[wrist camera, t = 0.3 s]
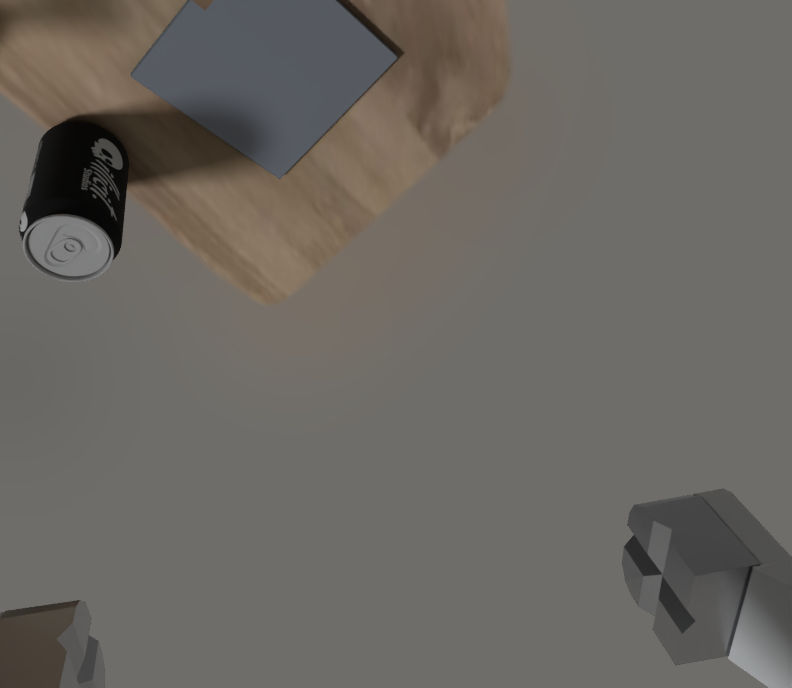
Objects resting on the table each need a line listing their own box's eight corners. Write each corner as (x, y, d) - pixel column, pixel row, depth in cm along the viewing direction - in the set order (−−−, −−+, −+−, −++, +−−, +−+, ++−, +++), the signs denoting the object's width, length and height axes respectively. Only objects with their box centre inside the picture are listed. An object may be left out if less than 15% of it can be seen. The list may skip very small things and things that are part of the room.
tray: (251, -81, 50) (251, -78, 50) (396, 54, 59) (397, 58, 58) (130, 72, 56) (130, 76, 55) (279, 175, 64) (279, 179, 64)
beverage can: (147, 156, 61) (141, 251, 53) (91, 202, 63) (77, 301, 55) (78, 99, 56) (59, 193, 48) (20, 150, 58) (-7, 249, 50)
